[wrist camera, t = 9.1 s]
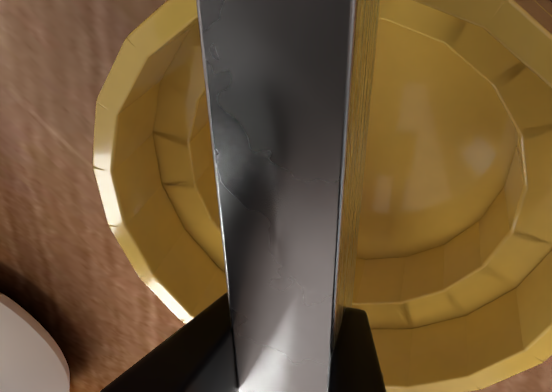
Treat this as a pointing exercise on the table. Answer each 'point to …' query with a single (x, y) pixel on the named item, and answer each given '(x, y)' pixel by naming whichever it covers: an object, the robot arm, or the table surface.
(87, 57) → the table surface
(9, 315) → the flower in vase
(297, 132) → the fork
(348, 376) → the robot arm
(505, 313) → the bowl
